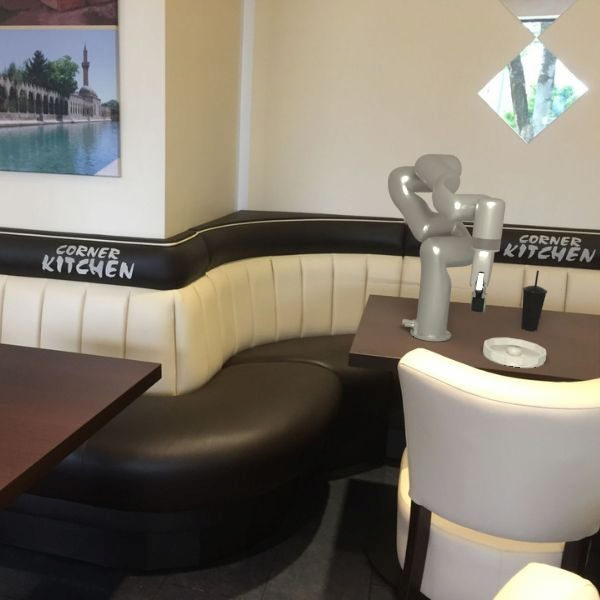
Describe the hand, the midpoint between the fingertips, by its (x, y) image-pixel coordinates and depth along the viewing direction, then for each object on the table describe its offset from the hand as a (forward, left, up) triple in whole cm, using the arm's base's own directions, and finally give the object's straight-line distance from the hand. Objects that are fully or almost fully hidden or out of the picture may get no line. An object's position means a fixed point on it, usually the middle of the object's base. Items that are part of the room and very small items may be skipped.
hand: (477, 308), depth 166 cm
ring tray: (+11, +8, -15) cm, 21 cm away
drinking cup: (+16, +39, -15) cm, 45 cm away
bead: (0, 0, -1) cm, 1 cm away
